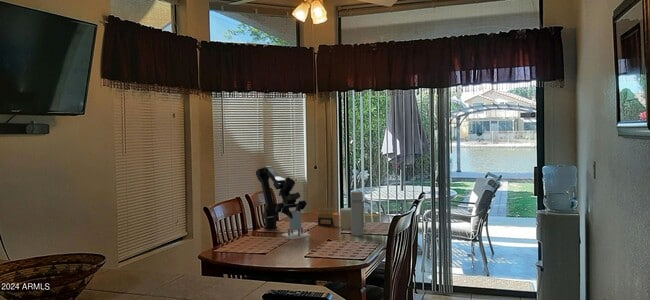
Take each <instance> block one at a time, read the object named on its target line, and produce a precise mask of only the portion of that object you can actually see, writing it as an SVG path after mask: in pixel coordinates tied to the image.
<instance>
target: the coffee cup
mask: <svg viewBox="0 0 650 300" xmlns="http://www.w3.org/2000/svg"><path fill="white" fill-rule="evenodd" d="M339 211H340V212H339V214H340V216H339V217H340V224H341V226H340V227H341V229H342V230H351V207H342V208H340V209H339Z"/></svg>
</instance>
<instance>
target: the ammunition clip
mask: <svg viewBox="0 0 650 300" xmlns="http://www.w3.org/2000/svg"><path fill="white" fill-rule="evenodd" d="M317 215H318V216H317V226H321V227H322V226H324V227H335V218H334V208H333V207H329V208H328V207H326V208H325V206H324V207H323V206H321V207H320V206H319V207H318V212H317Z"/></svg>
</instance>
